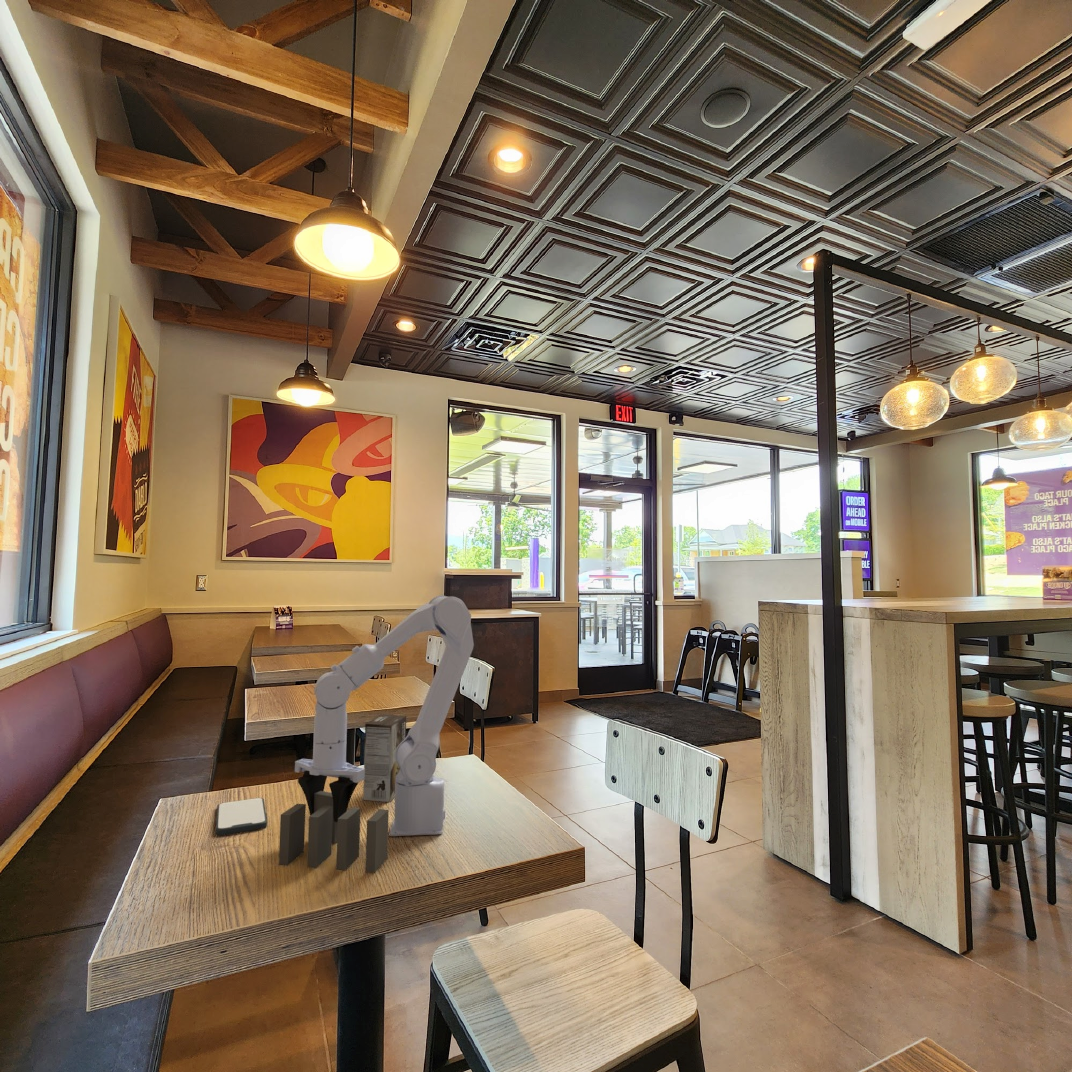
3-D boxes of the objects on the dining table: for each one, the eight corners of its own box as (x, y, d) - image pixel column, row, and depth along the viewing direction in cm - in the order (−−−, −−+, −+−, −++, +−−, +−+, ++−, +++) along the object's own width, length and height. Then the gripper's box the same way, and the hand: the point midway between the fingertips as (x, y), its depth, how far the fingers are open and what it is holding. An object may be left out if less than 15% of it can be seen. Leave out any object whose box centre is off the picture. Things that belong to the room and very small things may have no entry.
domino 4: (387, 859, 100) (388, 809, 101) (374, 873, 95) (376, 821, 96) (378, 858, 100) (379, 809, 101) (365, 872, 95) (366, 820, 96)
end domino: (319, 835, 109) (320, 790, 110) (340, 840, 107) (342, 794, 108) (312, 839, 107) (314, 793, 108) (334, 844, 105) (336, 797, 106)
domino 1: (304, 852, 102) (305, 804, 103) (287, 865, 97) (289, 815, 98) (295, 851, 102) (297, 803, 103) (278, 865, 98) (280, 814, 98)
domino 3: (359, 856, 101) (360, 807, 101) (345, 870, 96) (347, 819, 96) (350, 856, 101) (351, 807, 102) (336, 870, 96) (337, 818, 97)
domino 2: (331, 854, 102) (332, 806, 102) (316, 868, 97) (318, 817, 97) (322, 853, 102) (324, 805, 102) (307, 867, 97) (309, 816, 97)
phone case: (216, 811, 122) (214, 839, 108) (216, 803, 122) (214, 830, 108) (263, 804, 126) (267, 830, 112) (264, 796, 126) (268, 821, 112)
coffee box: (378, 786, 136) (380, 713, 137) (405, 787, 135) (407, 715, 136) (361, 800, 127) (363, 723, 128) (390, 802, 126) (392, 724, 127)
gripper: (283, 740, 108) (279, 818, 107) (346, 750, 102) (343, 832, 101) (312, 732, 114) (309, 805, 113) (373, 740, 108) (370, 817, 107)
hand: (327, 817), depth 108 cm, fingers closed on end domino, 5 cm apart
